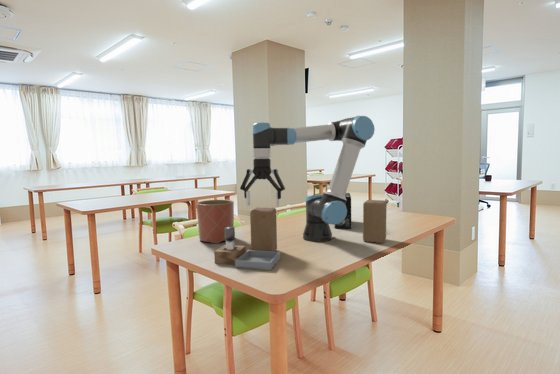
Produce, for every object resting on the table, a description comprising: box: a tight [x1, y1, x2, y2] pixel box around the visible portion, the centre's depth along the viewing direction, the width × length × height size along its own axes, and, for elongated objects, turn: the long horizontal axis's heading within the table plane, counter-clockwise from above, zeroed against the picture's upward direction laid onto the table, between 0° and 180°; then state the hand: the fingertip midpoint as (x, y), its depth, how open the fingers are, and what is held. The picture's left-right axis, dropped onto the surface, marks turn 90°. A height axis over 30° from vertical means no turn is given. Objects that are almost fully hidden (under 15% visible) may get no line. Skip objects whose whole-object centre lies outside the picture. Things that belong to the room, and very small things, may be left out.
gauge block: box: [213, 244, 247, 265], centre depth 141 cm, size 10×10×5 cm
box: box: [334, 192, 352, 229], centre depth 205 cm, size 23×10×19 cm, turn 170°
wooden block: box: [249, 207, 278, 252], centre depth 150 cm, size 10×10×20 cm
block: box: [362, 199, 387, 244], centre depth 167 cm, size 10×10×20 cm
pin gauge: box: [224, 226, 236, 251], centre depth 141 cm, size 4×4×14 cm
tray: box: [234, 249, 281, 271], centre depth 136 cm, size 15×15×3 cm
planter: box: [196, 199, 235, 244], centre depth 175 cm, size 19×19×20 cm
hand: (262, 205), depth 149 cm, fingers open, 13 cm apart
